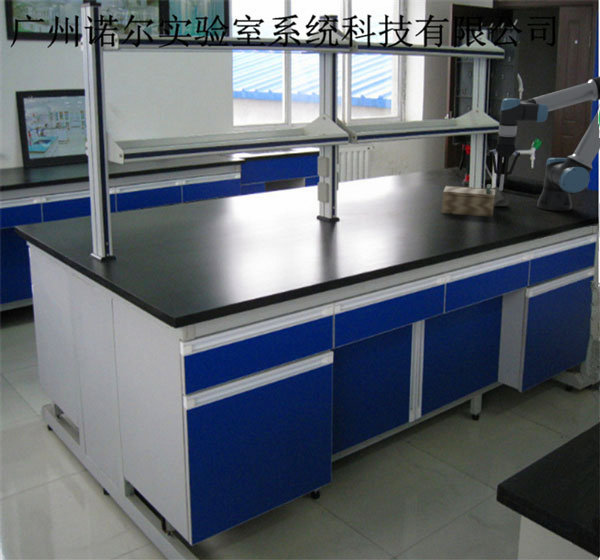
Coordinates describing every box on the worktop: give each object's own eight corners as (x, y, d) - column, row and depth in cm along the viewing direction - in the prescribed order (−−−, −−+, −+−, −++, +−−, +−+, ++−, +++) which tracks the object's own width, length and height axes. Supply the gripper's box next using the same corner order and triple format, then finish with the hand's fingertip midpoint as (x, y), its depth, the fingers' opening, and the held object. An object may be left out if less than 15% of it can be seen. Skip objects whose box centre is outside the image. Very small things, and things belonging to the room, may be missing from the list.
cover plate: (495, 192, 321) (496, 184, 319) (494, 197, 310) (495, 189, 308) (445, 188, 326) (446, 180, 325) (443, 194, 315) (443, 185, 314)
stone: (500, 182, 333) (488, 184, 327) (513, 199, 330) (501, 201, 323) (487, 196, 340) (475, 198, 333) (500, 212, 336) (487, 214, 330)
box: (493, 210, 324) (495, 189, 321) (492, 216, 311) (494, 195, 308) (444, 206, 330) (445, 185, 327) (441, 212, 317) (443, 191, 314)
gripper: (522, 135, 308) (516, 189, 316) (491, 133, 311) (485, 187, 319) (523, 137, 301) (516, 192, 309) (491, 135, 304) (485, 190, 312)
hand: (500, 189), depth 314 cm, fingers closed
